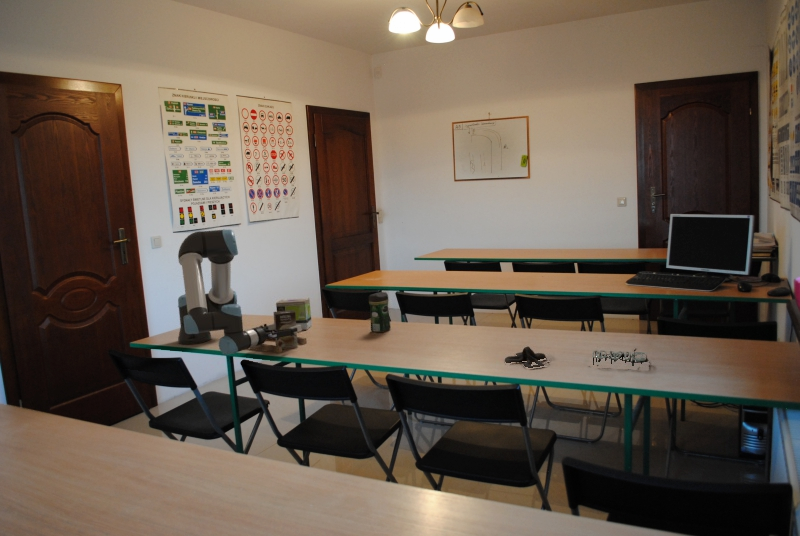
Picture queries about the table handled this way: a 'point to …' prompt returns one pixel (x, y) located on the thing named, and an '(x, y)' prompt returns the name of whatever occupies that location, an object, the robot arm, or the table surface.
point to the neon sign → (638, 360)
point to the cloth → (527, 358)
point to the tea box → (297, 310)
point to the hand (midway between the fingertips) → (289, 326)
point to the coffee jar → (379, 312)
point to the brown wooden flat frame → (276, 348)
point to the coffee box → (285, 322)
